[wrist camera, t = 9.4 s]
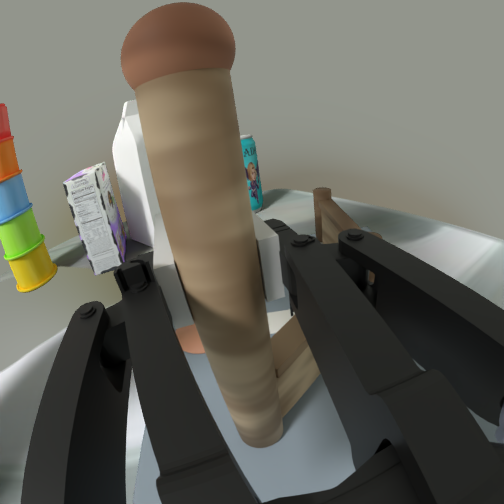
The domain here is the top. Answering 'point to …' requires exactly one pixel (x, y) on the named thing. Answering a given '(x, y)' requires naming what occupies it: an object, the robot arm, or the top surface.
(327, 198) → the fence fixed
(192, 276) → the folding fence panel
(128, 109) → the milk
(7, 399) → the top surface
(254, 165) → the beverage can
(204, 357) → the card
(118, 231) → the candy box
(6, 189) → the stacking cups
